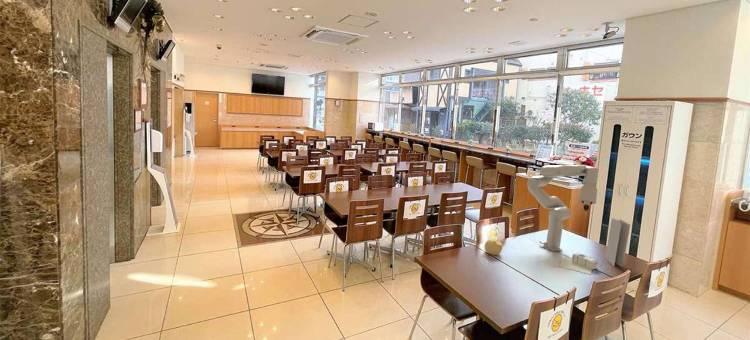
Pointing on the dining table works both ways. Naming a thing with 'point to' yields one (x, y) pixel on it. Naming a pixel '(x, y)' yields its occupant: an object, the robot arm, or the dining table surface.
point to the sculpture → (493, 246)
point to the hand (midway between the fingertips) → (585, 210)
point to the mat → (574, 266)
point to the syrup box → (585, 261)
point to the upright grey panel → (617, 242)
